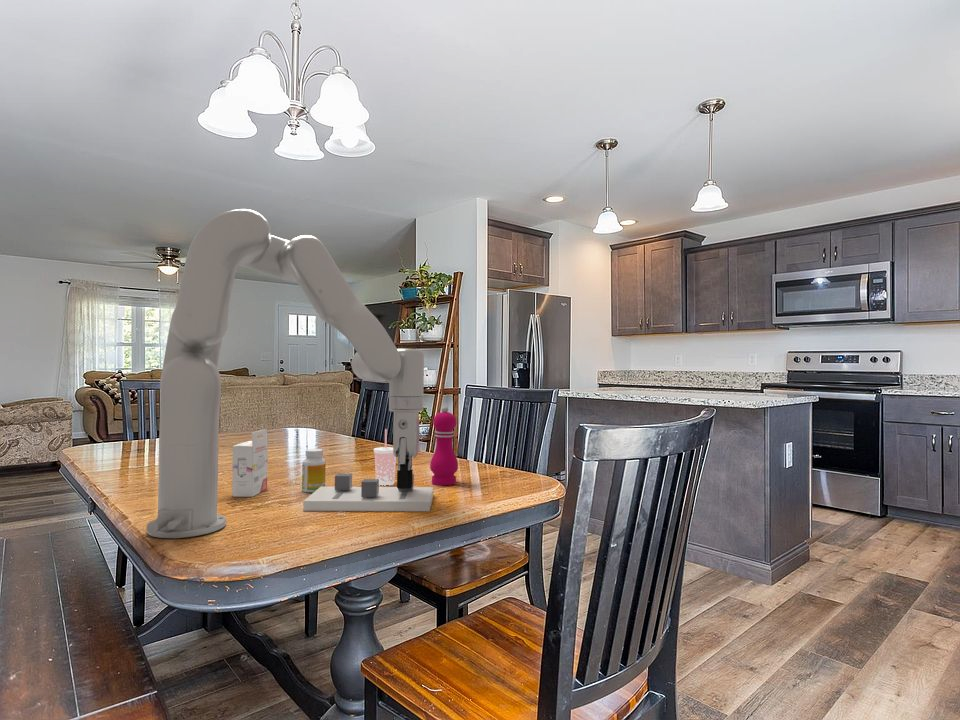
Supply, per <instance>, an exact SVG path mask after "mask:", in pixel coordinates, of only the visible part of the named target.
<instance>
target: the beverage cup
mask: <svg viewBox="0 0 960 720" xmlns="http://www.w3.org/2000/svg"><path fill="white" fill-rule="evenodd" d="M387 432H388V429H387V428H385V429H384V447H383V446H381V447H380V446H379V447H375V448H373V453H374V466H375V467H374V469H375V479H379V486H380V485H382V486H381V487H387V486H386V485H389V486H393V485H394V484H395V479H396V477H395V476H396V464H397V458H396V457H395V456H394V454H393V446H387V445H388V444H387V442H388V440H387V439H388V437H387V436H388V433H387ZM383 485H384V486H383Z"/></svg>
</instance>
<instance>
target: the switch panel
mask: <svg viewBox="0 0 960 720" xmlns="http://www.w3.org/2000/svg"><path fill="white" fill-rule="evenodd" d="M433 498H434V487H433V486H414V488H413V491H399V490H398V488H397V486H379V494H378V496H377V497H361V486H352V488H351V489H350V490H349V491H339V490H335V486H325V487H324V486H321V487H320V488H319V489H317V490H316V491H315V492H311V494H310V495H308V496H307V497H306V498H305V499H304V500H303V502H302V503H303V505H302V506H303V508H302V509H303V510H302V511H305V512H349V511H350V512H430V511H431V508H430V507H432V502H433Z"/></svg>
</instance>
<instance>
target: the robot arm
mask: <svg viewBox="0 0 960 720" xmlns="http://www.w3.org/2000/svg"><path fill="white" fill-rule="evenodd" d="M187 250H188V251H187V255H186V257H185V261H184V268H183V272H182V277H181V279H180V284H179V285H180V286H179V290H178V296H177V300H176V305H175V307H174V310H173V312H172V314H171V316H170V317H171V319H170V323H169V328H168V335H167V340H166V347H165V351H164V356H163V357H164V358H163V363H162V369H161V370H162V371H161V373H160V374H161V375H160V381H159V429H158V431H159V433H158V434H159V435H158V437H159V439H158V442H159V443H158V444H159V445H158V446H159V449H158V487H157V491H158V493H157V517H156V518H155V519H154V520H152V521H149V522H148V523H147V524H146V534H147V535H149V536H151V537H154V538H159V539H181V538H193V537H198V536H203V535H207V534H212V533H214V532H217V531H219V530H221V529H223V528H224V527H225V526H226V525H227V517H225V516H224V515H222V514H218V490H219V489H218V484H219V482H218V479H219V446H220V445H219V436H220V435H219V432H220V431H219V429H220V409H221V397H222V380H221V379H222V378H221V374H220V372H219V369H218V366H219V365H218V364H219V358H220V353H221V347H222V342H223V341H222V340H223V338H224V336H225V335H226V333H227V330H228V323H229V312H230V311H229V310H230V304H231V298H232V297H231V296H232V293H233V292H232V291H233V286H234V281H235V276H236V272H237V269H238V267H243V268H245V269H248V270H252V271H255V272H258V273H261V274H264V275H266V276H267V275H268V276H270V277H272V278H273V277H274V278H277V279H280V280H281V279H282V280H285V281H289V282H293V283H297V284H298V285H299V287H300V288H301V290H302V292H303V294H304V295H305V296H306V299H308V301H309V302H310V304H311V306H312V307H313V309H314V310H315V313H317V315H318V317H319V318H320V319H322V320H323V322H325V323H326V324H327V325H329V326H330V327H332V328H334V329H335V330H337V331H338V332H339V333H341V334H342V335H343V336H344V337H345V339H346V340H347V341H348V342H349V343H350V344H351V346H352V347H353V348H354V350H355V353H354V355H353V356H352V358H351V361H350V363H351V369H352V372H353V374H354V375H355V376H356V377H357V378H358V379H361V380H363V381H366V382H380V383H386V382H388V383H389V385H388V386H389V387H388V388H389V389H388V393H389V395H388V396H389V397H388V398H389V399H388V411H389V412H392V413H393V430H392V431H393V432H392V435H393V437H392V441H393V442H392V443H393V444H392V447H393V454H394V456H395V457H396V459H397V470H396V487H397V488H398V489H411V487H412V474H414V473H413V472H414V471H413V459H414V458H416V457H418V455H419V453H420V412H423V411H424V384H425V382H424V381H425V377H424V376H425V373H424V372H425V354H424V351H422V349H419V348H405V347H404V348H402V347H401V348H397V346H396V344H395V343H394V342H393V340H392V338H391V337H390V335H389V333H388V332H387V330H386V328H385V327H384V326H383V324H382V323H381V321H379V319H378V318H377V317H376V316H375V314H373V313H372V311H370V310H369V308H368V307H367V306H366V305H365V304H364V303H363V302H362V301H361V300H360V299H359V298H358V297H357V295H356V294H355V293H354V291H353V289H352V287H350V285H349V283H348V281H347V280H346V279H345V277H344V275H343V273H342V272H341V270H340V268H339V267H338V265H337V264H336V262H335V261H334V259H333V257H332V256H331V254H330V253H329V251H328V249H327V247H326V246H325V245H324V244H323V243H322V241H321V240H320V239H319V238H317V237H316V236H314V235H309V234H308V235H307V234H304V235H299V236H297V237H294V238H292V239H290V240H288V239H286V238H285V239H284V238H281V237H278V236H275V235H272V229H271V227H270V224H269V221H268V220H267V219H266V217H264V216H263V215H262V214H261V213H259V212H257V211H255V210H253V209H247V208H240V209H239V208H238V209H232V210H231V209H230V210H228V211H225V212H221V213H219V214H218V215H216V216H214V217H212V218H211V219H209V220H208V221H207V222H206V223H204V224H203V226H201V228H200V229H199V230H198V232H196V234H195V236H194V237H193V239H192V241H191V243H190V245H189V248H188V249H187Z"/></svg>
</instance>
